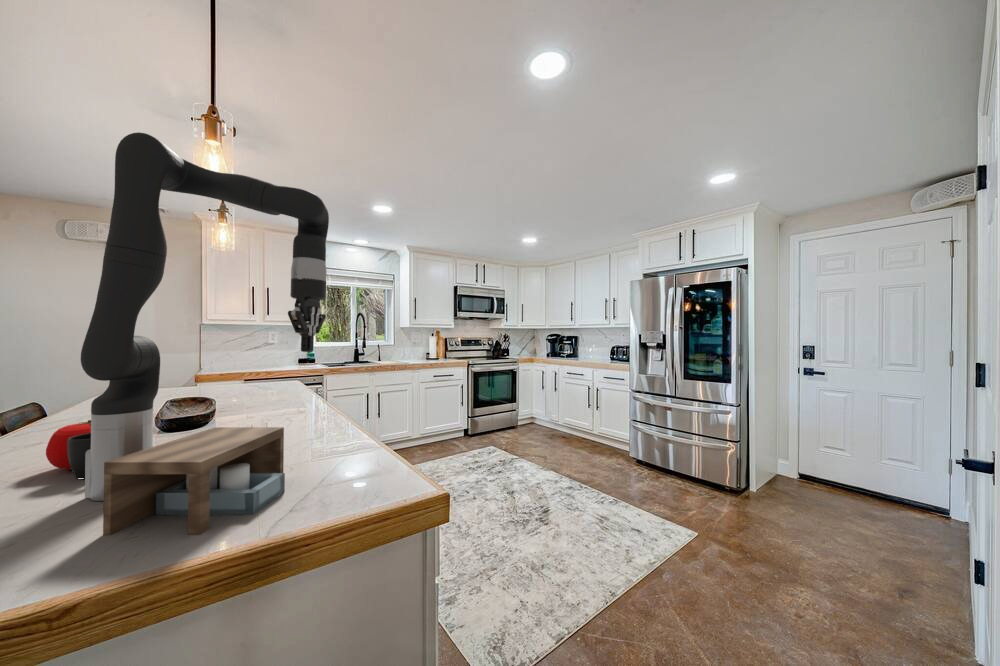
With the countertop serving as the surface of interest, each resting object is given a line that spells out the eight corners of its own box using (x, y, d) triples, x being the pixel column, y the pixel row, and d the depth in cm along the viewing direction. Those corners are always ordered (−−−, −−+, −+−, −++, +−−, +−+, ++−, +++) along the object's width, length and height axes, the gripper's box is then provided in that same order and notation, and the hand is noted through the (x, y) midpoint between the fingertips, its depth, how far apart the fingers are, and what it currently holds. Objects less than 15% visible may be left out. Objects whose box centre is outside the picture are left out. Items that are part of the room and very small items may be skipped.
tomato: (27, 477, 86) (28, 427, 86) (83, 458, 100) (84, 415, 100) (90, 474, 88) (91, 425, 88) (137, 456, 101) (138, 414, 102)
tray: (155, 514, 68) (156, 476, 68) (199, 492, 78) (199, 459, 78) (253, 514, 68) (253, 476, 68) (284, 492, 78) (284, 458, 78)
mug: (82, 487, 81) (82, 443, 81) (60, 478, 86) (61, 437, 86) (132, 474, 88) (132, 434, 88) (109, 467, 93) (110, 429, 93)
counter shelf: (103, 534, 61) (104, 462, 61) (213, 479, 85) (214, 427, 85) (200, 534, 61) (200, 462, 61) (283, 479, 85) (283, 427, 85)
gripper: (308, 283, 95) (306, 350, 94) (276, 274, 81) (274, 352, 81) (337, 283, 95) (335, 351, 94) (309, 274, 81) (307, 353, 81)
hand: (307, 351), depth 88 cm, fingers closed
